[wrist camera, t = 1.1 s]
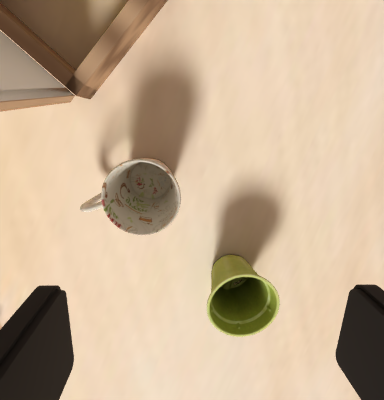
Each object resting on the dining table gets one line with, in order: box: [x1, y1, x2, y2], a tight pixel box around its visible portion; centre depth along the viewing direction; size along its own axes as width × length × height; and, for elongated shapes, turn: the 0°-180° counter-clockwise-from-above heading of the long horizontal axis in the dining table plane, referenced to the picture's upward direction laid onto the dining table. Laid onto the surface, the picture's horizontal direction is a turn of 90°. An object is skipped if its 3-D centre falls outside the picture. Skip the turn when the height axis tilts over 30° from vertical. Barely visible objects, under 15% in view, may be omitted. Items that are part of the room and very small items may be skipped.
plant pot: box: [207, 255, 280, 337], centre depth 38 cm, size 9×9×9 cm
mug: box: [80, 158, 181, 235], centre depth 33 cm, size 8×13×10 cm, turn 109°
